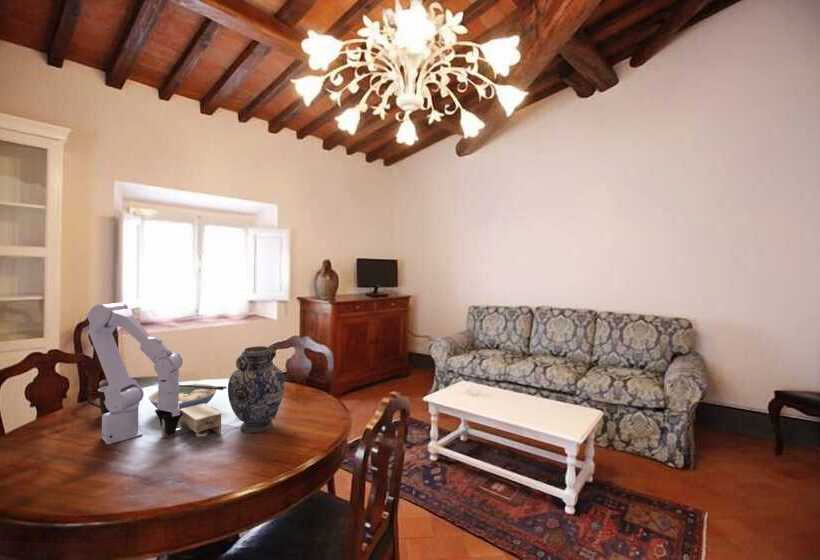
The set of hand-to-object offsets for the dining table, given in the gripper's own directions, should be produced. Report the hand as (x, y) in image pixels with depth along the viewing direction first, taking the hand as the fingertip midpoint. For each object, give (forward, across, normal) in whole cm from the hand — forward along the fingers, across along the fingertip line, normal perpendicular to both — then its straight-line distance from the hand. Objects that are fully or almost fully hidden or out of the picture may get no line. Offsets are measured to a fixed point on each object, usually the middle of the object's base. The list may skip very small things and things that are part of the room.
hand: (168, 432), depth 126 cm
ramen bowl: (+2, +20, -12) cm, 24 cm away
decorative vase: (+2, -14, -24) cm, 27 cm away
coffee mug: (+2, +38, +8) cm, 38 cm away
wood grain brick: (+1, 0, -5) cm, 5 cm away
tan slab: (+1, -4, -8) cm, 9 cm away
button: (+2, -6, -8) cm, 10 cm away
